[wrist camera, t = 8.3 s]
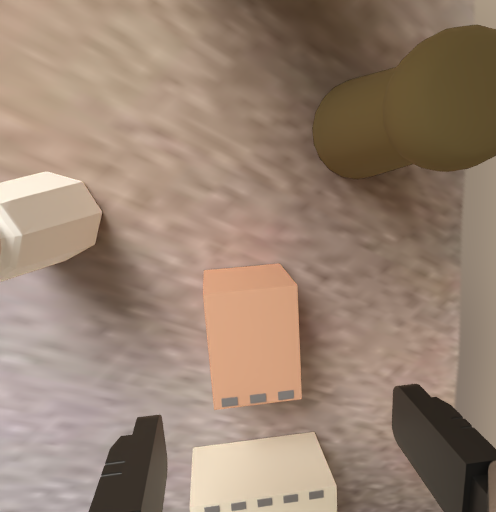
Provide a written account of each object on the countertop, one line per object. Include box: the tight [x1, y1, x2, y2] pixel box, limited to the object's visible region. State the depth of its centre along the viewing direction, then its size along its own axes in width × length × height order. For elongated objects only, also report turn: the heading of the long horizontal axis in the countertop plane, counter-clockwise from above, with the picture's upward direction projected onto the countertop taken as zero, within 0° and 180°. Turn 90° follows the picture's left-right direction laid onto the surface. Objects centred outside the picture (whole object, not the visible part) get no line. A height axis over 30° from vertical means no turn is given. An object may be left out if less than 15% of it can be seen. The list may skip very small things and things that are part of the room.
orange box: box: [203, 264, 302, 410], centre depth 23 cm, size 7×5×5 cm
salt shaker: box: [0, 171, 102, 282], centre depth 17 cm, size 5×5×11 cm
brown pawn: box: [312, 25, 496, 179], centre depth 18 cm, size 6×6×11 cm
